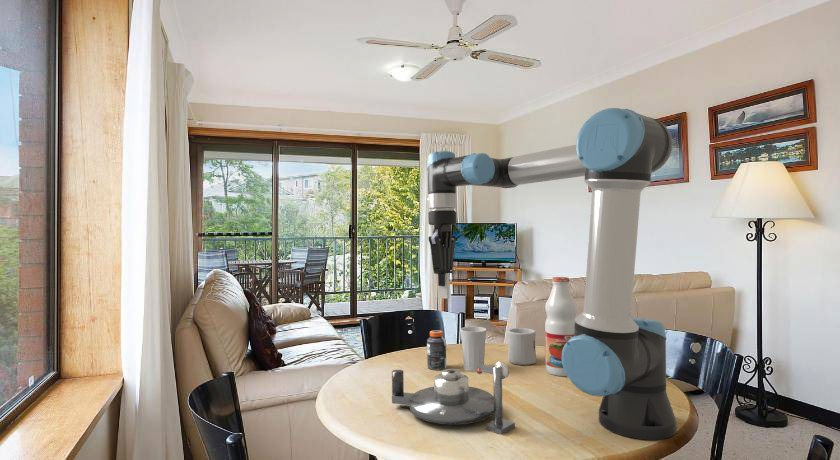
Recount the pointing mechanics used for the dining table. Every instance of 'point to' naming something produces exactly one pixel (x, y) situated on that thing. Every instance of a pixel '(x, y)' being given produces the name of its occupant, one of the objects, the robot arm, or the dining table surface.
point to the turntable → (431, 411)
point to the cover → (451, 388)
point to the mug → (521, 346)
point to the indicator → (498, 397)
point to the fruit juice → (558, 324)
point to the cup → (473, 347)
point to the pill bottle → (436, 350)
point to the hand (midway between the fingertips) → (443, 297)
